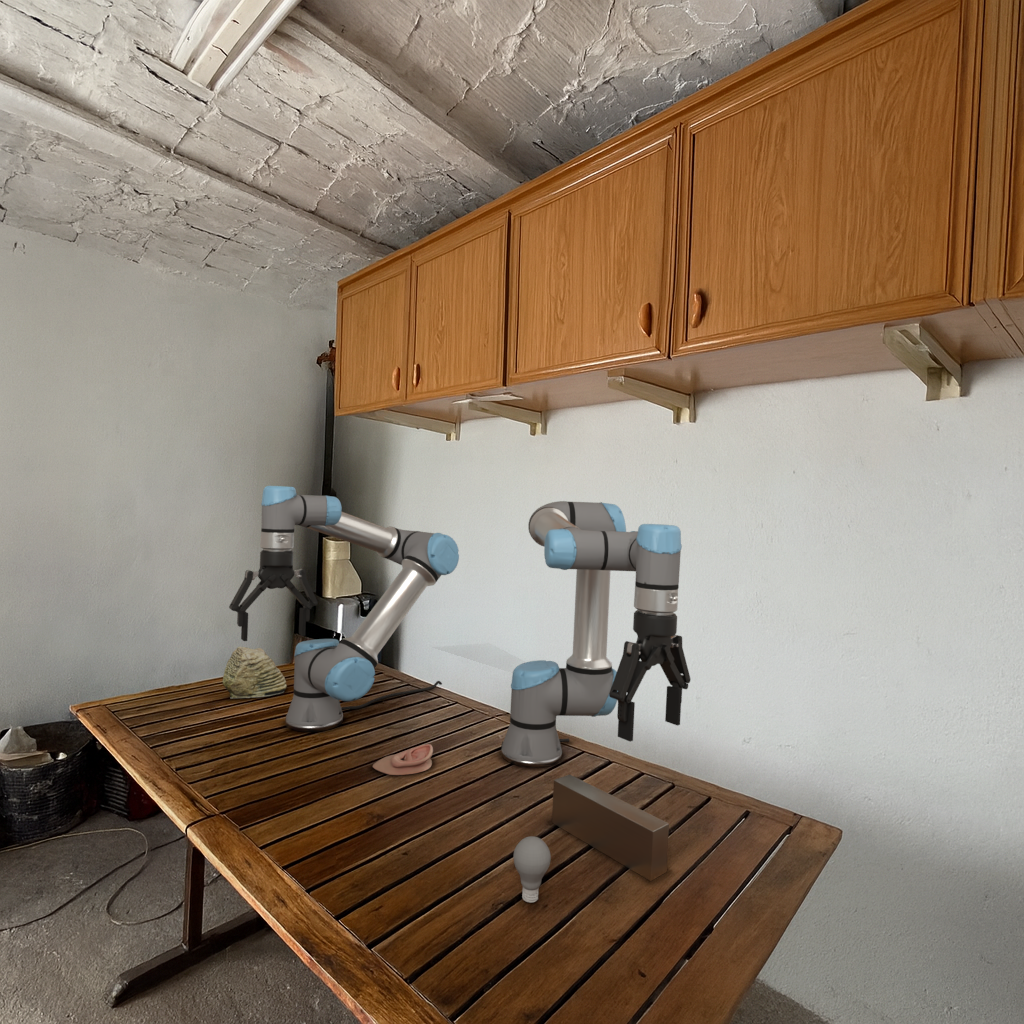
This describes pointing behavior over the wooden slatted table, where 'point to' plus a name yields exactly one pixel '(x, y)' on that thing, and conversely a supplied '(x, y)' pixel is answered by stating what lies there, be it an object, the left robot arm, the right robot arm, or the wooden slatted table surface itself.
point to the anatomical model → (406, 761)
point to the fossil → (252, 674)
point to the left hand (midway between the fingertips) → (273, 637)
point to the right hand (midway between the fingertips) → (649, 730)
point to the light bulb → (531, 865)
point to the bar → (611, 826)
